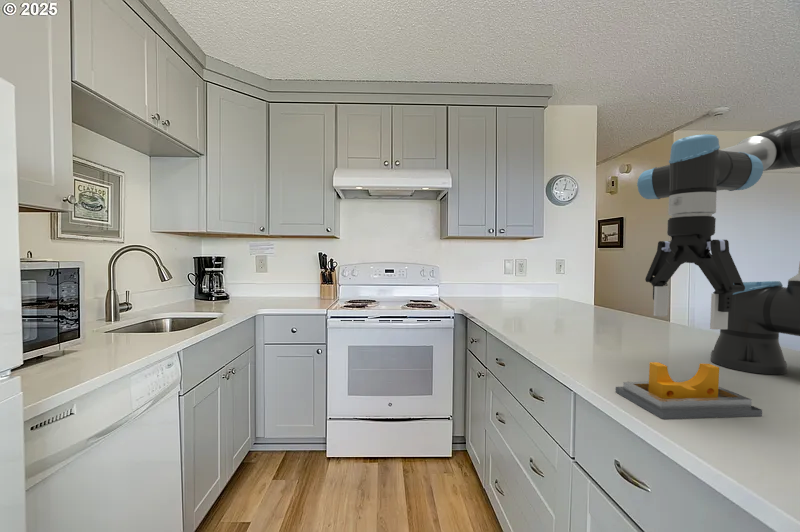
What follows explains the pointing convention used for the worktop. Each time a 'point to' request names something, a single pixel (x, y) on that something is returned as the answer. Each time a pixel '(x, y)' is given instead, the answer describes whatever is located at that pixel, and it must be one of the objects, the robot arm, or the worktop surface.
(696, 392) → the pipe clamp
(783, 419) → the worktop surface
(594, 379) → the worktop surface
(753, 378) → the worktop surface
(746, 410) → the rail plate
